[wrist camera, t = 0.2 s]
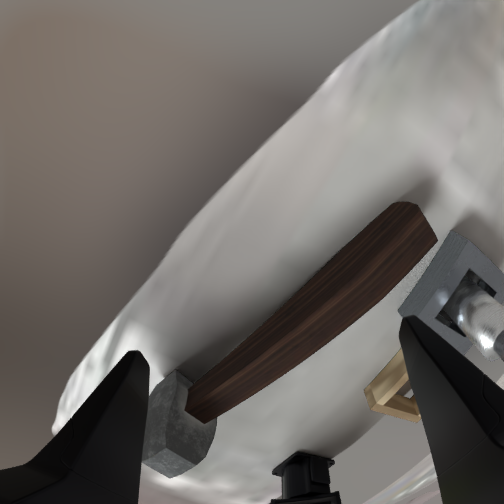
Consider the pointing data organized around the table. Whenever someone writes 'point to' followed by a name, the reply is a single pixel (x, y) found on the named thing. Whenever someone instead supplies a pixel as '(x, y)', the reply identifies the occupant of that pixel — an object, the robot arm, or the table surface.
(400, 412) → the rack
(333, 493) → the robot arm
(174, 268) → the table surface
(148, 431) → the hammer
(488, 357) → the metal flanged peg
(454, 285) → the socket
